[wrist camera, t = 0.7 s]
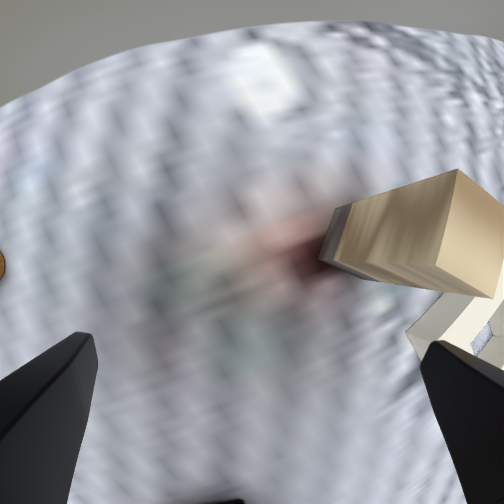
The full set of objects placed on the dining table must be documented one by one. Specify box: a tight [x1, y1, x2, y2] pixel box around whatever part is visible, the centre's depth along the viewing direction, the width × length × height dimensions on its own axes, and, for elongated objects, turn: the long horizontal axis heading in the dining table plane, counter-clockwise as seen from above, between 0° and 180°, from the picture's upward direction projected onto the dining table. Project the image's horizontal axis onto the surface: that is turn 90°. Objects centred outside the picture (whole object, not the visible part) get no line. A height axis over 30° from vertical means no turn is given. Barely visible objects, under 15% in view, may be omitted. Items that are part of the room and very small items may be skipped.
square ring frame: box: [406, 259, 504, 370], centre depth 23 cm, size 12×12×4 cm
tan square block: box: [317, 169, 504, 299], centre depth 17 cm, size 4×4×13 cm
